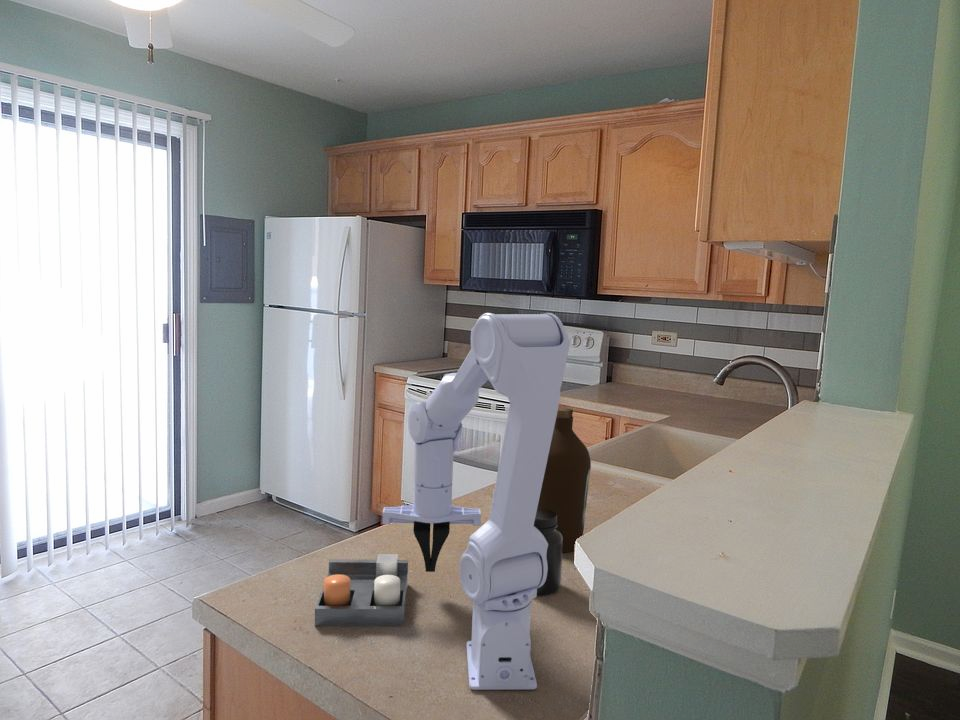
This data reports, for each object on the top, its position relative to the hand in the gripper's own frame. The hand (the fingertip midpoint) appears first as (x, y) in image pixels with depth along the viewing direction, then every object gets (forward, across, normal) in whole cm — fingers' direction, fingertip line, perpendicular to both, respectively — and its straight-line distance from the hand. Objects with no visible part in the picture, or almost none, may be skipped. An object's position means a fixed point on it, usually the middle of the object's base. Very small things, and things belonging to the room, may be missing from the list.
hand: (430, 568), depth 98 cm
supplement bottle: (+4, -17, -2) cm, 18 cm away
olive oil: (+4, -23, -19) cm, 30 cm away
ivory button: (+2, +6, +6) cm, 9 cm away
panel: (+4, +10, +3) cm, 11 cm away
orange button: (+2, +13, +6) cm, 14 cm away
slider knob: (+1, +6, 0) cm, 7 cm away
